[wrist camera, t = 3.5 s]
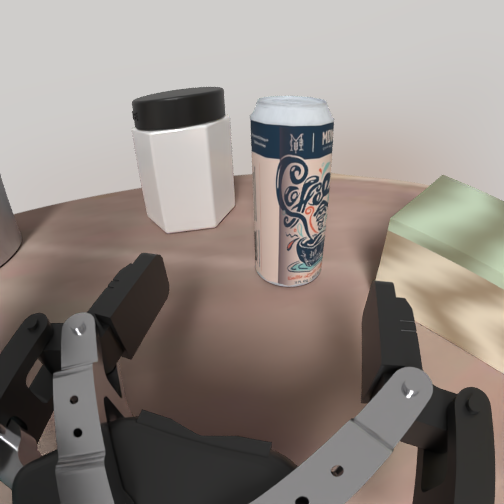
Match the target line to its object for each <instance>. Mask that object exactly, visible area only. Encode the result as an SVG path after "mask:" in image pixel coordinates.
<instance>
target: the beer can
mask: <svg viewBox="0 0 504 504" xmlns="http://www.w3.org/2000/svg"><path fill="white" fill-rule="evenodd" d="M256 104H257V105H256V107H255V109H254V111H253V113H252V114H251V115H250V120H251V146H252V172H253V173H252V174H253V204H254V234H255V269H256V271H257V273H258V274H259V276H260V277H261V278H263V279H264V280H266V281H267V282H269V283H272V284H274V285H279V286H285V287H295V286H300V285H304V284H307V283H309V282H311V281H313V280H314V279H315V278H316V277H317V276H318V275H319V273H320V271H321V264H322V256H323V247H324V238H325V229H326V220H327V210H328V199H329V187H330V175H331V161H332V145H333V126H334V118H333V117H332V115H331V113H330V110H329V108H328V105H327V102H326V101H325V100H322V99H317V98H311V97H298V96H271V97H264V98H259V99H258V102H257V103H256Z"/></svg>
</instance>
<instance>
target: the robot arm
mask: <svg viewBox="0 0 504 504" xmlns="http://www.w3.org/2000/svg"><path fill="white" fill-rule="evenodd" d="M21 241H22V236H21V233H20V231H19V228H18V225H17V223H16V220H15V218H14V215H13V213H12V209H11V206H10V203H9V200H8V198H7V194H6V192H5V188H4V185H3V182H2V179H1V175H0V266H1V265H2V264H4V263H5V262H6V261H7V260H8V259H9V258H10V257H11V256H12V255H13V254H14V253H15V252H16V251H17V249H18V248H19V246H20V244H21ZM168 294H169V282H168V278H167V274H166V270H165V266H164V262H163V258H162V257H161V255H158V254H150V253H141V254H140V255H139V257H138V258H137V259H136V260H135V261H134V263H133V264H131V263H130V264H129V265H127V266H126V267H125V268H123V269H122V270H120V271H119V273H118V274H117V275H116V276H115V277H114V279H113V281H111V282H110V284H109V285H108V288H106V289H105V290H104V291H103V293H102V294H101V295H100V296H99V298H98V299H97V300H96V301H95V303H94V304H93V305H92V307H91V308H90V309H89V311H88V312H87V313H85V312H81V313H77V314H74V315H72V316H71V317H69V318H68V319H67V320H66V321H65V323H50V322H49V320H48V318H47V317H46V315H44V314H42V313H36V314H33V315H31V316H29V317H28V318H26V319H25V320H24V322H23V323H22V324H21V326H20V327H19V328H18V330H17V331H16V333H15V334H14V335H13V337H12V338H11V340H10V341H9V342H8V344H7V345H6V347H5V348H4V350H3V351H2V353H1V354H0V481H2V482H3V483H4V484H5V485H7V486H8V487H9V488H10V489H12V504H345V503H346V502H347V501H348V500H349V499H350V498H351V497H352V496H353V495H354V494H355V493H356V492H357V491H358V490H359V489H360V488H361V487H362V486H363V485H364V484H365V483H366V482H367V481H368V480H369V478H370V477H371V476H372V475H373V474H374V473H375V472H376V471H377V470H378V469H379V467H380V466H381V465H382V464H383V463H384V462H385V460H386V459H387V458H388V457H389V456H390V454H391V453H392V452H393V449H394V447H395V446H396V445H397V443H398V442H399V441H401V442H404V443H407V444H410V445H413V446H416V447H418V453H417V467H416V478H415V488H414V496H413V504H494V501H495V448H494V433H493V422H492V413H491V405H490V401H489V399H488V397H487V396H486V394H485V393H484V392H483V391H481V390H480V389H478V388H475V387H468V388H465V389H463V390H461V391H460V392H459V393H458V394H455V393H452V392H449V391H446V390H443V389H440V388H438V387H436V386H434V385H433V384H432V381H431V379H430V378H429V376H428V375H427V374H426V373H425V372H424V371H423V369H422V363H421V356H420V349H419V343H418V337H417V333H416V325H415V323H414V321H415V320H414V314H413V309H412V307H411V306H410V305H409V303H408V302H407V300H406V299H405V298H400V297H396V293H395V287H394V283H393V282H385V281H375V280H373V281H372V284H371V287H370V291H369V294H368V298H367V301H366V305H365V308H364V312H363V317H362V392H361V403H368V404H367V405H366V406H365V408H364V409H363V410H362V411H361V412H360V413H359V414H358V415H357V416H356V417H355V418H353V419H350V420H349V421H348V422H347V423H346V424H345V425H344V426H343V427H342V428H341V429H340V430H339V431H337V432H336V433H335V434H334V435H333V436H332V437H331V438H330V439H329V440H328V441H327V442H326V443H325V444H324V445H323V446H321V447H320V448H319V449H318V450H317V451H316V452H315V453H314V454H313V455H311V456H310V457H309V458H308V459H307V460H306V461H304V462H303V463H302V464H301V465H300V466H299V467H298V466H296V465H295V464H294V463H293V462H292V461H291V460H289V459H288V458H287V457H285V456H283V455H282V454H280V453H278V452H276V451H273V450H271V446H272V442H266V441H261V440H255V439H250V438H245V437H240V436H201V435H198V434H196V433H194V432H192V431H191V430H189V429H187V428H185V427H184V426H182V425H180V424H179V423H177V422H175V421H174V420H172V419H170V418H167V417H163V416H160V415H157V414H154V413H151V412H148V411H145V410H143V409H142V411H141V413H140V415H139V417H133V415H132V413H131V411H130V409H129V406H128V404H127V400H126V395H125V391H124V386H123V380H122V375H121V370H120V365H119V363H118V360H119V359H120V357H121V356H122V357H125V358H128V359H132V358H133V356H134V354H135V352H136V351H137V349H138V347H139V345H140V344H141V342H142V340H143V338H144V337H145V335H146V333H147V332H148V330H149V328H150V326H151V325H152V323H153V321H154V320H155V318H156V316H157V315H158V313H159V311H160V310H161V308H162V306H163V305H164V303H165V301H166V300H167V297H168ZM37 358H38V359H39V360H40V361H41V363H42V364H43V365H42V367H41V369H40V370H39V372H38V374H37V375H36V377H35V379H34V380H33V382H32V384H31V385H30V387H29V388H28V387H27V385H26V377H27V374H28V373H29V371H30V370H31V368H32V366H33V365H34V363H35V362H36V360H37ZM53 411H54V418H55V431H56V441H57V450H55V451H52V452H50V453H48V454H46V455H44V456H42V457H41V453H40V452H39V451H38V447H37V444H38V441H39V439H40V437H41V435H42V433H43V431H44V429H45V427H46V425H47V423H48V421H49V419H50V417H51V415H52V413H53Z"/></svg>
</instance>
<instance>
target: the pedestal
mask: <svg viewBox="0 0 504 504" xmlns="http://www.w3.org/2000/svg"><path fill="white" fill-rule="evenodd" d="M375 281H385V282H393V283H394V287H395V293H396V297H400V298H405V299H406V300H407V302H408V303H409V305H410V306H411V307H412V309H413V314H414V320H415V321H416V322H418V323H420V324H421V325H423V326H425V327H426V328H428V329H430V330H431V331H433V332H435V333H437V334H438V335H440V336H442V337H443V338H445V339H447V340H448V341H450V342H452V343H453V344H455V345H457V346H458V347H460V348H462V349H463V350H465V351H467V352H468V353H470V354H472V355H473V356H475V357H477V358H478V359H480V360H482V361H483V362H485V363H487V364H488V365H490V366H491V367H493V368H495V369H496V370H498V371H500V372H501V373H503V374H504V201H501V200H499V199H497V198H495V197H493V196H491V195H488V194H487V193H484V192H482V191H480V190H478V189H475V188H473V187H471V186H469V185H466V184H464V183H461V182H459V181H457V180H454V179H452V178H449V177H447V176H444V175H442V176H441V177H440V178H438V179H437V180H436V181H435V182H434V183H433V184H431V185H430V186H429V187H428V188H427V189H425V190H424V191H423V192H422V193H421V194H419V195H418V196H417V197H416V198H415V199H413V200H412V201H411V202H410V203H408V204H407V205H406V206H405V207H404V208H402V209H401V210H400V211H399V212H397V213H396V214H395V215H394V216H392V217H391V218H390V222H389V226H388V231H387V236H386V240H385V244H384V248H383V253H382V257H381V261H380V265H379V269H378V272H377V276H376V280H375Z"/></svg>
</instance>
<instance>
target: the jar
mask: <svg viewBox="0 0 504 504" xmlns="http://www.w3.org/2000/svg"><path fill="white" fill-rule="evenodd" d="M132 106H133V111H132V113H133V119H134V121H135V127H134V128H132V134H133V140H134V147H135V153H136V158H137V164H138V170H139V175H140V181H141V186H142V191H143V196H144V201H145V206H146V210H147V215H148V217H149V218H150V219H151V220H153V221H154V222H155V223H156V224H157V225H158V226H159V227H160V228H161V229H163V230H164V231H165V232H166V233H176V232H183V231H191V230H199V229H207V228H215V227H216V226H217V225H218V224H219V223H220V222H221V221H222V220H223V218H224V217H225V216H226V215H227V214H228V213H229V212H230V211H231V210H232V208H233V207H234V206H235V193H234V177H233V160H232V145H231V144H232V143H231V125H230V116H229V115H225V104H224V90H223V88H220V87H199V88H188V89H180V90H172V91H167V92H161V93H156V94H151V95H147V96H143V97H140V98H137V99H135V100H133V102H132Z"/></svg>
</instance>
